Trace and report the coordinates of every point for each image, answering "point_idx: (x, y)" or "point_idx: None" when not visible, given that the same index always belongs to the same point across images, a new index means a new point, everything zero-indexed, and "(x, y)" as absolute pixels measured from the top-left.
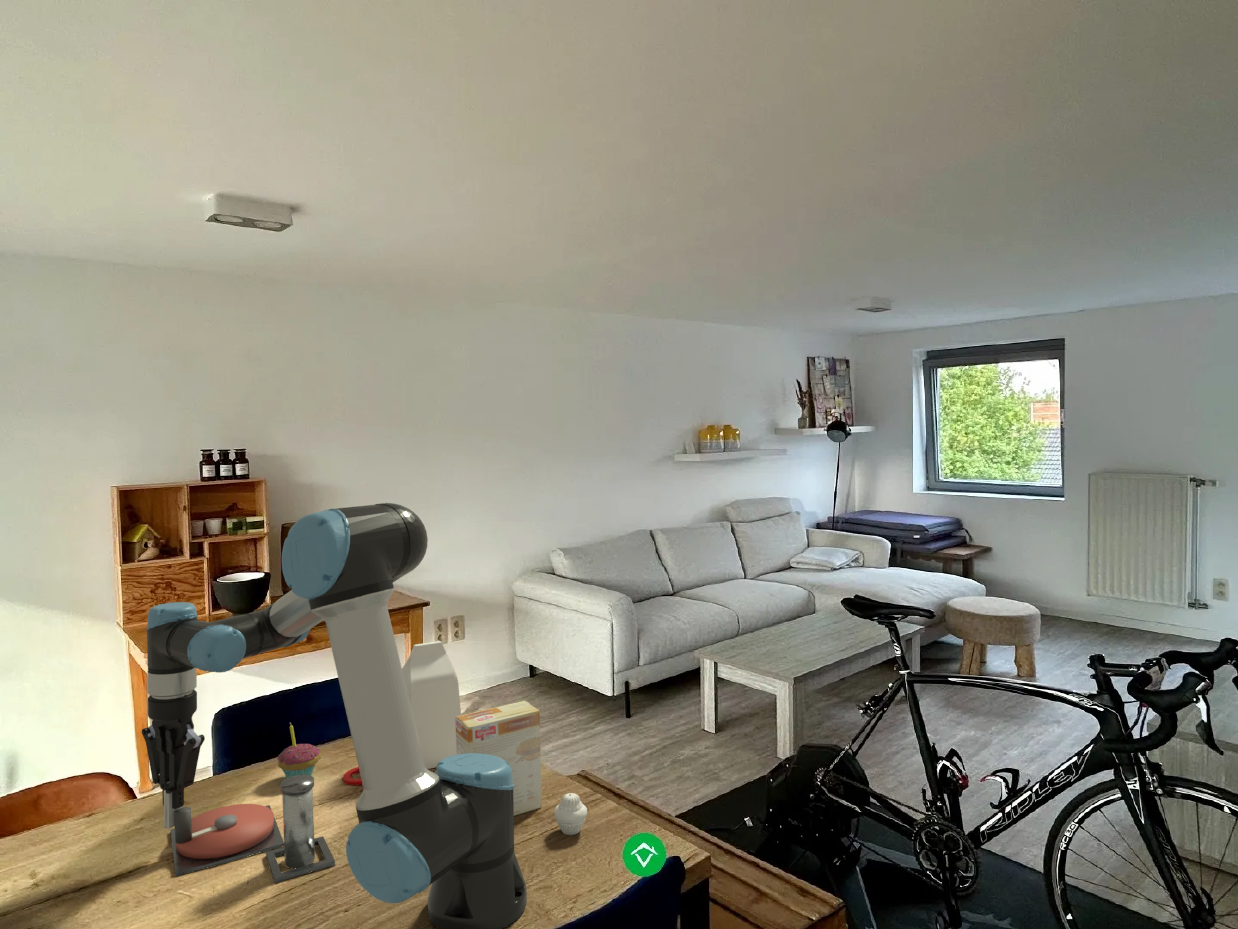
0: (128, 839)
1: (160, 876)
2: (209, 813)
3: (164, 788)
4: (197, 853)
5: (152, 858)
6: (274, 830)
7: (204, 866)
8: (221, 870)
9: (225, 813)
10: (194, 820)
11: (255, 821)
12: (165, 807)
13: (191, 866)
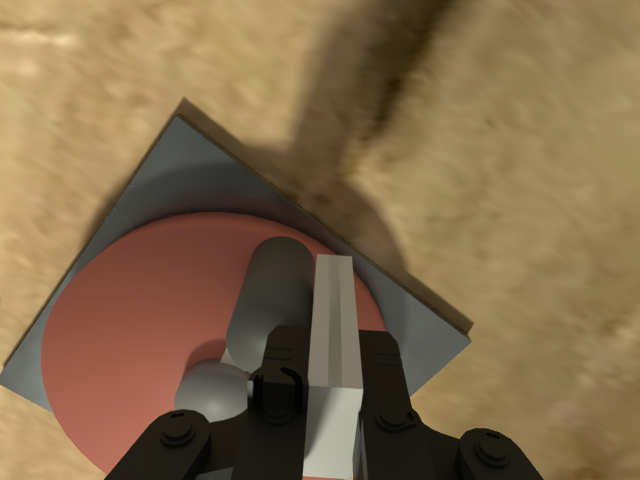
0: (596, 259)
1: (241, 97)
2: None
3: (366, 409)
4: (168, 223)
5: (388, 187)
6: None
7: (123, 194)
8: (58, 202)
9: None
10: None
11: (135, 435)
12: (342, 314)
13: (159, 173)
